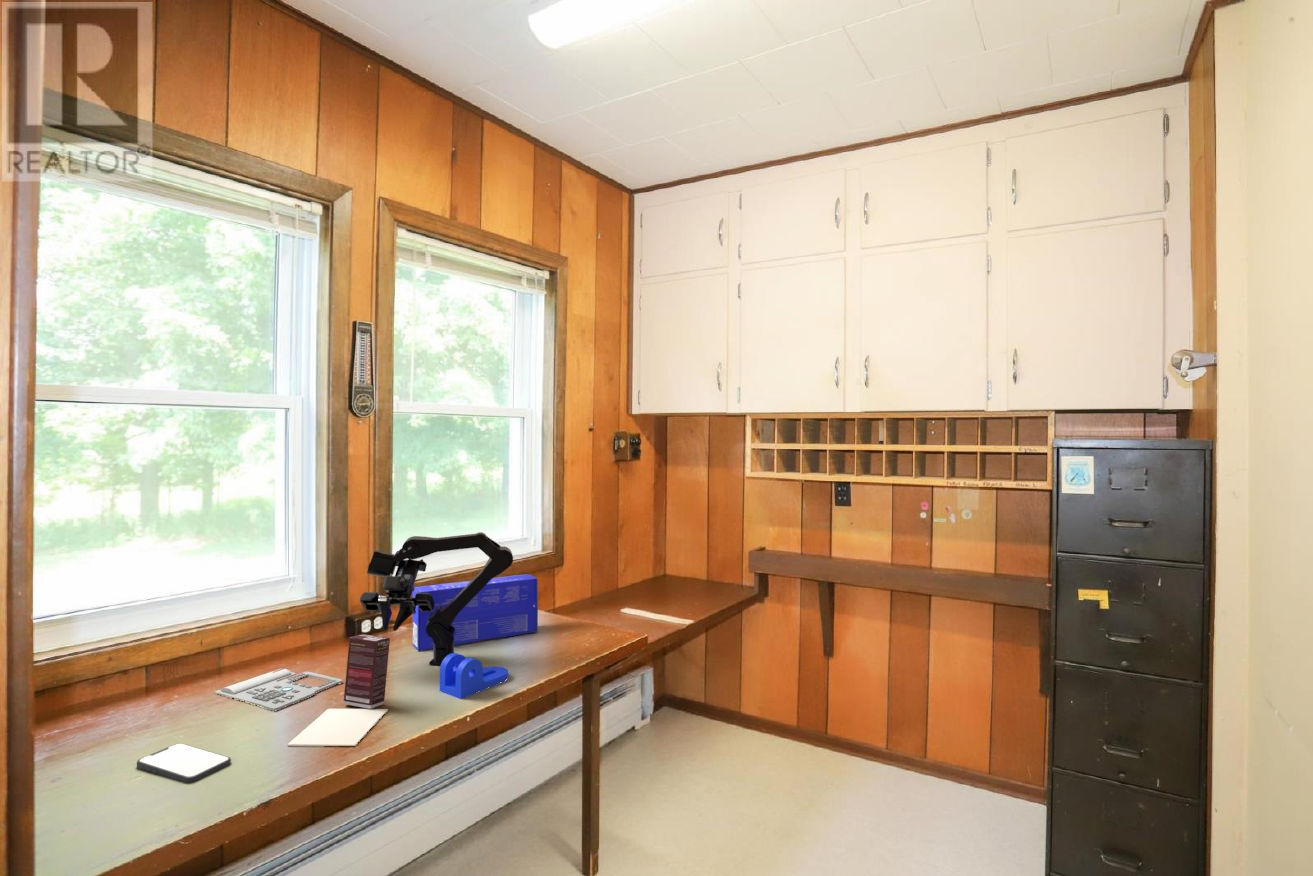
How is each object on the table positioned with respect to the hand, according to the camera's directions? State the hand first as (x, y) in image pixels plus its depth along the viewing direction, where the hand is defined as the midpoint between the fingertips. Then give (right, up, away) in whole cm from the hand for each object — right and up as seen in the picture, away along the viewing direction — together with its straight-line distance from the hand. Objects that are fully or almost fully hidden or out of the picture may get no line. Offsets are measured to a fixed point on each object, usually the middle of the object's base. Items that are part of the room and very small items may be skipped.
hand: (389, 630), depth 174 cm
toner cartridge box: (+13, -14, +38) cm, 42 cm away
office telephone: (-25, -14, -6) cm, 29 cm away
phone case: (-22, -14, -45) cm, 52 cm away
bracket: (+24, -14, -1) cm, 28 cm away
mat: (0, -14, -27) cm, 31 cm away
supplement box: (0, -14, -16) cm, 21 cm away
